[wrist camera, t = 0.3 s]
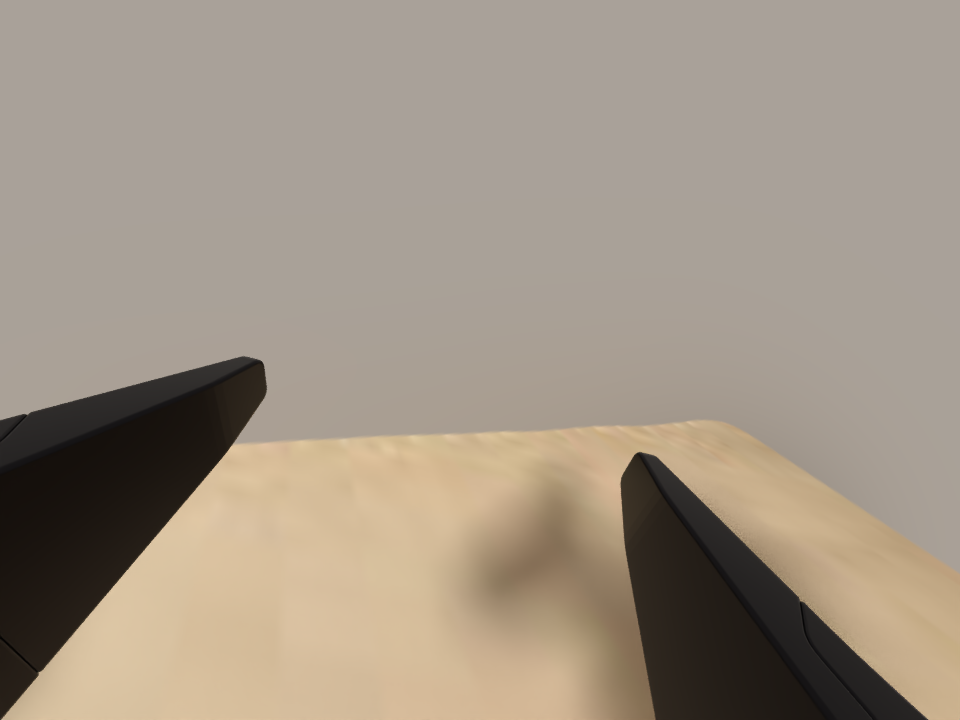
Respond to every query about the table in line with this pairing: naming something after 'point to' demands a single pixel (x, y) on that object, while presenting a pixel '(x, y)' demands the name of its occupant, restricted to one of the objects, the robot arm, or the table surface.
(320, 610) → the table surface
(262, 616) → the table surface
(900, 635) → the table surface
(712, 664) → the robot arm
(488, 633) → the table surface
